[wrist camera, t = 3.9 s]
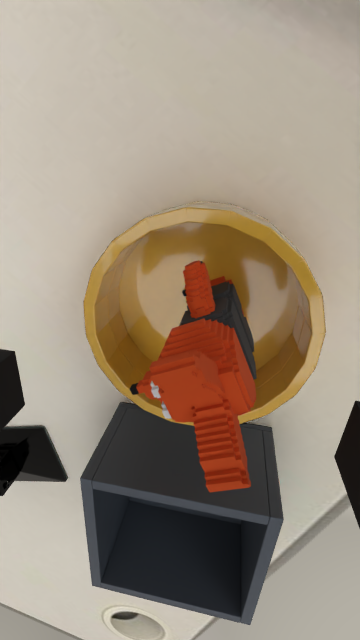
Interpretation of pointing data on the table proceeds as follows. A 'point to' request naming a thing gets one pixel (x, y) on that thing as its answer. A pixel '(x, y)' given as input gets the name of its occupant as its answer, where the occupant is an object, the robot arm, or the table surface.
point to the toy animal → (208, 376)
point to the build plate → (28, 457)
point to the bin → (179, 517)
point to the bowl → (221, 260)
